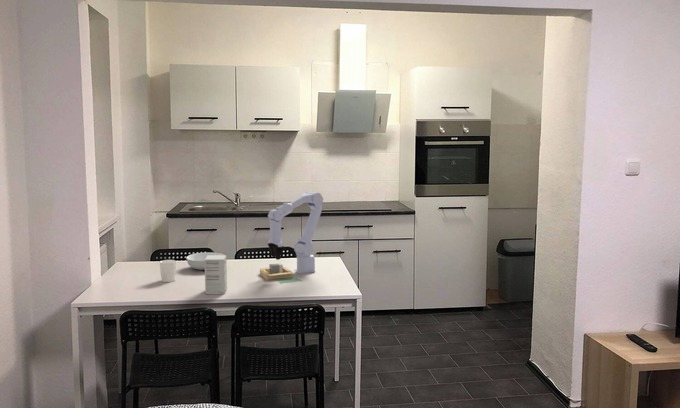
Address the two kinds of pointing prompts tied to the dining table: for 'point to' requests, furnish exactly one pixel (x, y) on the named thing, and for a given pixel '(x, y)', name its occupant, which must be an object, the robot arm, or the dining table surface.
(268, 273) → the tan wooden shallow tray
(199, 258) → the serving bowl
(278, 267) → the grey box
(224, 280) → the supplement box
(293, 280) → the flat green panel
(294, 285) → the dining table surface
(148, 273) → the dining table surface
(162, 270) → the white cup
